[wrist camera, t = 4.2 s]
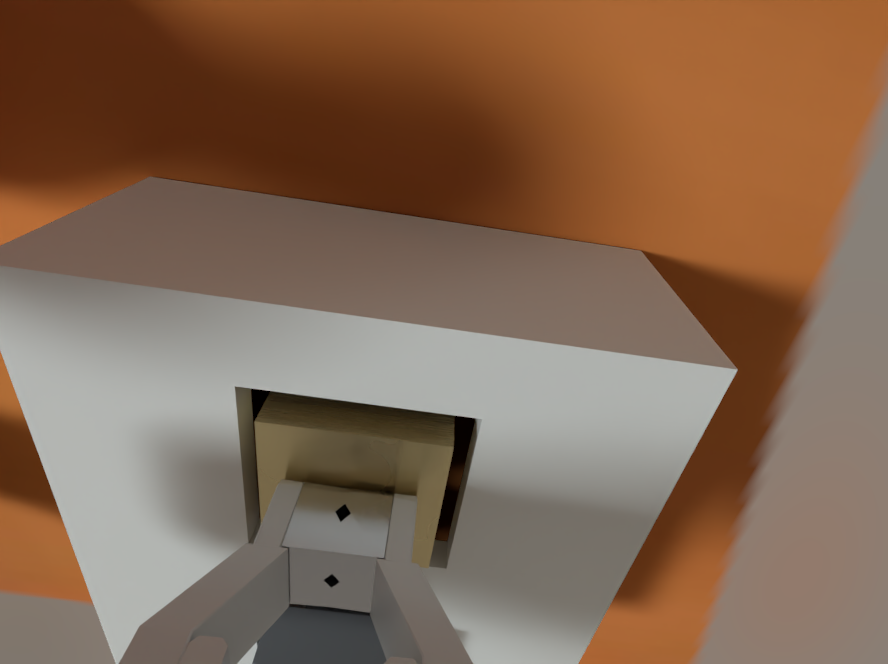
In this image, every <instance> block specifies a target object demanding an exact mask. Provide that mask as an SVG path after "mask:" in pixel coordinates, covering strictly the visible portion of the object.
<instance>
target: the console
mask: <svg viewBox="0 0 888 664" xmlns="http://www.w3.org/2000/svg"><path fill="white" fill-rule="evenodd" d="M0 351H1V354H2V356H3V359H4V362H5V365H6V367H7V370H8V373H9V375H10V378H11V381H12V384H13V386H14V389H15V392H16V394H17V397H18V400H19V403H20V405H21V408H22V411H23V413H24V416H25V419H26V422H27V424H28V427H29V430H30V432H31V435H32V438H33V441H34V443H35V446H36V449H37V451H38V454H39V457H40V460H41V462H42V465H43V468H44V470H45V473H46V476H47V479H48V481H49V484H50V487H51V489H52V492H53V495H54V498H55V500H56V503H57V506H58V508H59V511H60V514H61V517H62V519H63V522H64V525H65V527H66V530H67V533H68V536H69V538H70V541H71V544H72V546H73V549H74V552H75V555H76V557H77V560H78V563H79V565H80V568H81V571H82V574H83V576H84V579H85V582H86V585H87V587H88V590H89V593H90V595H91V598H92V601H93V604H94V606H95V609H96V612H97V614H98V617H99V620H100V623H101V625H102V628H103V630H104V633H105V636H106V639H107V641H108V644H109V647H110V650H111V652H112V655H113V657H114V661H115V663H116V664H119V662H120V660H121V659H122V657H123V655H124V653H125V651H126V649H127V648H128V646H129V644H130V642H131V640H132V639H133V637H134V635H135V633H136V631H137V629H138V628H139V626H140V625H141V624H143V623H144V622H145V621H147V620H148V619H149V618H150V617H152V616H153V615H154V614H156V613H157V612H158V611H159V610H161V609H162V608H163V607H165V606H166V605H167V604H168V603H170V602H171V601H172V600H174V599H175V598H176V597H177V596H179V595H180V594H181V593H183V592H184V591H185V590H186V589H188V588H189V587H190V586H192V585H193V584H194V583H195V582H197V581H198V580H199V579H201V578H202V577H203V576H204V575H206V574H207V573H208V572H210V571H211V570H212V569H213V568H215V567H216V566H217V565H219V564H220V563H221V562H222V561H224V560H225V559H226V558H228V557H229V556H230V555H231V554H233V553H234V552H235V551H237V550H238V549H239V548H240V547H242V546H243V545H244V544H245V543H251V544H253V543H254V540H255V538H256V536H257V533H258V531H259V528H260V526H261V519H260V518H259V503H258V488H257V472H256V457H255V442H254V427H253V412H252V396H251V389H259V390H266V391H274V392H281V393H289V394H296V395H304V396H311V397H319V398H326V399H334V400H341V401H349V402H356V403H364V404H371V405H379V406H386V407H394V408H401V409H409V410H416V411H424V412H431V413H439V414H446V415H454V416H462V417H469V418H476V419H475V423H474V427H473V432H472V436H471V440H470V445H469V449H468V454H467V458H466V462H465V467H464V471H463V475H462V480H461V484H460V488H459V493H458V497H457V501H456V506H455V510H454V514H453V519H452V523H451V527H450V532H449V536H448V540H447V541H440V540H434V545H433V550H432V554H431V559H430V564H429V568H423V567H420V568H421V569H422V571H423V573H424V575H425V577H426V579H427V580H428V582H429V584H430V586H431V588H432V590H433V591H434V593H435V595H436V597H437V599H438V600H439V602H440V604H441V606H442V608H443V610H444V611H445V613H446V615H447V617H448V619H449V621H450V622H451V624H452V626H453V628H454V630H455V631H456V633H457V635H458V637H459V639H460V641H461V642H462V644H463V646H464V648H465V650H466V652H467V653H468V655H469V657H470V659H471V661H472V662H473V664H578V663H579V661H580V659H581V657H582V656H583V654H584V652H585V650H586V648H587V646H588V645H589V643H590V641H591V639H592V637H593V635H594V634H595V632H596V630H597V628H598V626H599V624H600V623H601V621H602V619H603V617H604V615H605V613H606V611H607V610H608V608H609V606H610V604H611V602H612V600H613V599H614V597H615V595H616V593H617V591H618V589H619V588H620V586H621V584H622V582H623V580H624V578H625V577H626V575H627V573H628V571H629V569H630V567H631V565H632V564H633V562H634V560H635V558H636V556H637V554H638V553H639V551H640V549H641V547H642V545H643V543H644V542H645V540H646V538H647V536H648V534H649V532H650V531H651V529H652V527H653V525H654V523H655V521H656V520H657V518H658V516H659V514H660V512H661V510H662V508H663V507H664V505H665V503H666V501H667V499H668V497H669V496H670V494H671V492H672V490H673V488H674V486H675V485H676V483H677V481H678V479H679V477H680V475H681V474H682V472H683V470H684V468H685V466H686V464H687V462H688V461H689V459H690V457H691V455H692V453H693V451H694V450H695V448H696V446H697V444H698V442H699V440H700V439H701V437H702V435H703V433H704V431H705V429H706V428H707V426H708V424H709V422H710V420H711V418H712V416H713V415H714V413H715V411H716V409H717V407H718V405H719V404H720V402H721V400H722V398H723V396H724V394H725V393H726V391H727V389H728V387H729V385H730V383H731V382H732V380H733V378H734V376H735V374H736V372H737V371H738V369H737V368H736V367H735V365H734V364H733V363H732V362H731V361H730V359H729V358H728V357H727V356H726V354H725V353H724V352H723V351H722V350H721V348H720V347H719V346H718V345H717V343H716V342H715V341H714V340H713V339H712V337H711V336H710V335H709V334H708V332H707V331H706V330H705V329H704V327H703V326H702V325H701V324H700V323H699V321H698V320H697V319H696V318H695V316H694V315H693V314H692V313H691V312H690V310H689V309H688V308H687V307H686V305H685V304H684V303H683V302H682V300H681V299H680V298H679V297H678V296H677V294H676V293H675V292H674V291H673V289H672V288H671V287H670V286H669V285H668V283H667V282H666V281H665V280H664V278H663V277H662V276H661V275H660V273H659V272H658V271H657V270H656V269H655V267H654V266H653V265H652V264H651V262H650V261H649V260H648V259H647V258H646V256H645V255H644V254H643V253H642V251H640V250H633V249H627V248H620V247H613V246H607V245H600V244H594V243H587V242H580V241H574V240H567V239H560V238H554V237H547V236H541V235H534V234H527V233H521V232H514V231H507V230H501V229H494V228H488V227H481V226H474V225H468V224H461V223H454V222H448V221H441V220H435V219H428V218H421V217H415V216H408V215H402V214H395V213H388V212H382V211H375V210H368V209H362V208H355V207H349V206H342V205H335V204H329V203H322V202H315V201H309V200H302V199H296V198H289V197H282V196H276V195H269V194H262V193H256V192H249V191H243V190H236V189H229V188H223V187H216V186H209V185H203V184H196V183H190V182H183V181H176V180H170V179H163V178H156V177H148V178H146V179H144V180H142V181H139V182H137V183H135V184H133V185H131V186H129V187H126V188H124V189H122V190H120V191H118V192H116V193H113V194H111V195H109V196H107V197H105V198H103V199H100V200H98V201H96V202H94V203H92V204H90V205H87V206H85V207H83V208H81V209H79V210H77V211H74V212H72V213H70V214H68V215H66V216H64V217H62V218H59V219H57V220H55V221H53V222H51V223H49V224H46V225H44V226H42V227H40V228H38V229H36V230H33V231H31V232H29V233H27V234H25V235H23V236H20V237H18V238H16V239H14V240H12V241H10V242H7V243H5V244H3V245H1V246H0ZM289 607H296V608H305V607H306V605H300V604H289ZM259 641H260V639H259V640H258V641H257V642H256V643H255V644H254V645H253V647H252V648H251V649H250V650H249V651H248V652H247V653H246V654H245V655H244V656H243V658H242V659H241V660H240V661H239V662H238V663H237V664H252V662H253V659H254V656H255V653H256V650H257V647H258V644H259Z"/></svg>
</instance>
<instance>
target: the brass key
mask: <svg viewBox="0 0 888 664" xmlns="http://www.w3.org/2000/svg"><path fill="white" fill-rule="evenodd" d="M454 419H455V416H454V415H446V414H439V413H431V412H424V411H416V410H409V409H401V408H394V407H386V406H379V405H371V404H364V403H356V402H349V401H341V400H334V399H326V398H319V397H311V396H304V395H296V394H289V393H281V392H274V391H270V393H269V395H268V397H267V399H266V401H265V403H264V404H263V406H262V408H261V410H260V412H259V414H258V416H257V418H256V419H255V421H254V423H255V439H256V454H257V470H258V486H259V501H260V517H261V523H262V521H263V519H264V516H265V514H266V511H267V509H268V506H269V504H270V502H271V499H272V497H273V494H274V492H275V490H276V487H277V485H278V484H279V482H280V481H281V480H282V479H285V480H292V481H299V482H307V483H314V484H321V485H327V486H334V487H340V488H347V489H350V488H353V489H362V490H371V491H379V492H388V493H394V494H402V495H410V496H417V510H416V521H415V531H414V542H413V552H412V563H417V564H419V566H420V567H423V568H429V564H430V559H431V554H432V550H433V545H434V540H435V535H436V531H437V526H438V521H439V516H440V511H441V507H442V502H443V497H444V492H445V488H446V483H447V478H448V473H449V468H450V464H451V459H452V454H453V449H454ZM393 499H394V497H393ZM392 506H393V505H392Z"/></svg>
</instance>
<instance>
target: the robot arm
mask: <svg viewBox="0 0 888 664" xmlns="http://www.w3.org/2000/svg"><path fill="white" fill-rule="evenodd" d="M393 497H394V499H393ZM392 505H393V506H392ZM416 510H417V496H410V495H402V494H394V493H388V492H379V491H371V490H362V489H353V488H350V489H347V488H340V487H334V486H327V485H321V484H314V483H307V482H299V481H292V480H285V479H282V480H281V481H280V482H279V484H278V485H277V487H276V490H275V492H274V494H273V497H272V499H271V502H270V504H269V506H268V509H267V511H266V514H265V516H264V519H263V521H262V523H261V526H260V528H259V531H258V533H257V536H256V538H255V540H254V543H253V544H251V543H245V544H244V545H243V546H242V547H240V548H239V549H238V550H237V551H235V552H234V553H233V554H231V555H230V556H229V557H228V558H226V559H225V560H224V561H222V562H221V563H220V564H219V565H217V566H216V567H215V568H213V569H212V570H211V571H210V572H208V573H207V574H206V575H204V576H203V577H202V578H201V579H199V580H198V581H197V582H195V583H194V584H193V585H192V586H190V587H189V588H188V589H186V590H185V591H184V592H183V593H181V594H180V595H179V596H177V597H176V598H175V599H174V600H172V601H171V602H170V603H168V604H167V605H166V606H165V607H163V608H162V609H161V610H159V611H158V612H157V613H156V614H154V615H153V616H152V617H150V618H149V619H148V620H147V621H145V622H144V623H143V624H141V625H140V626H139V628H138V629H137V631H136V633H135V635H134V637H133V639H132V640H131V642H130V644H129V646H128V648H127V649H126V651H125V653H124V655H123V657H122V659H121V660H120V662H119V664H237V663H238V662H239V661H240V660H241V659H242V658H243V656H244V655H245V654H246V653H247V652H248V651H249V650H250V649H251V648H252V647H253V645H254V644H255V643H256V642H257V641H258V640H259V639H260V638H261V637H262V636H263V635H264V633H265V632H266V631H267V630H268V629H269V628H270V627H271V626H272V625H273V624H274V622H275V621H276V620H277V619H278V618H279V617H280V616H281V615H282V614H283V613H284V611H285V610H286V609H287V608H288V607H289V604H300V605H312V606H324V607H330V606H331V607H333V608H340V609H347V610H354V611H361V612H368V613H370V616H371V619H372V622H373V625H374V627H375V630H376V633H377V635H378V638H379V641H380V644H381V646H382V649H383V652H384V654H385V657H386V660H387V661H386V662H385V663H384V664H473V662H472V661H471V659H470V657H469V655H468V653H467V652H466V650H465V648H464V646H463V644H462V642H461V641H460V639H459V637H458V635H457V633H456V631H455V630H454V628H453V626H452V624H451V622H450V621H449V619H448V617H447V615H446V613H445V611H444V610H443V608H442V606H441V604H440V602H439V600H438V599H437V597H436V595H435V593H434V591H433V590H432V588H431V586H430V584H429V582H428V580H427V579H426V577H425V575H424V573H423V571H422V569H421V568H420V566H419V564H417V563H412V552H413V542H414V531H415V521H416Z"/></svg>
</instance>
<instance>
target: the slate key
mask: <svg viewBox="0 0 888 664" xmlns="http://www.w3.org/2000/svg"><path fill="white" fill-rule="evenodd" d="M386 661H387V660H386V657H385V654H384V652H383V649H382V646H381V644H380V641H379V638H378V635H377V633H376V630H375V627H374V625H373V622H372V619H371V616H370V613H368V612H361V611H354V610H347V609H340V608H333V607H331V606H330V607H324V606H312V605H306V607H305V608H296V607H288V608H287V609H286V610H285V611H284V613H283V614H282V615H281V616H280V617H279V618H278V619H277V620H276V621H275V622H274V624H273V625H272V626H271V627H270V628H269V629H268V630H267V631H266V632H265V633H264V635H263V636H262V637H261V638H260V641H259V644H258V647H257V650H256V653H255V656H254V659H253V662H252V664H384V663H385V662H386Z"/></svg>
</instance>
